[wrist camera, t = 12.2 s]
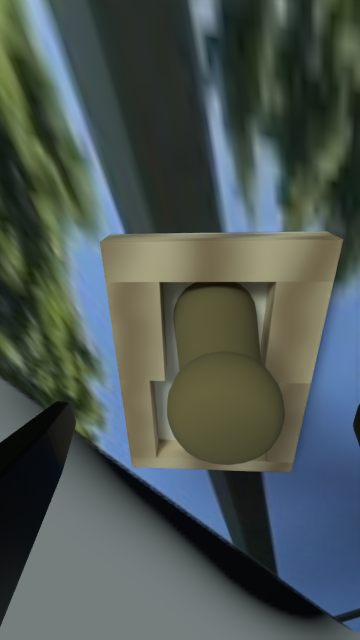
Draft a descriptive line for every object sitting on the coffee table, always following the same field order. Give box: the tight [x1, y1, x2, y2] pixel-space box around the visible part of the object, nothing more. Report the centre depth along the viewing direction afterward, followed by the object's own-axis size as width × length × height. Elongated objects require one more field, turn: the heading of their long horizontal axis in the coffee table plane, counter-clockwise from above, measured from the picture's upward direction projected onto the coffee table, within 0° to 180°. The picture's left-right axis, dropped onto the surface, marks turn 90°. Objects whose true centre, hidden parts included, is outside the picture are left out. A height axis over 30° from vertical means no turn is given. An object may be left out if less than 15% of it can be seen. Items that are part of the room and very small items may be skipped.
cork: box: [167, 282, 285, 465], centre depth 17 cm, size 6×6×11 cm
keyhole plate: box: [100, 232, 343, 472], centre depth 23 cm, size 14×20×2 cm
